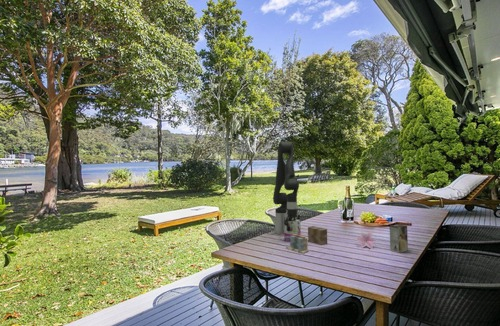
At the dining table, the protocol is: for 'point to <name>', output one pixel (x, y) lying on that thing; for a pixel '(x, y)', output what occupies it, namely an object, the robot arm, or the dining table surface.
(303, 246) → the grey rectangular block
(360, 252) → the dining table surface
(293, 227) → the candy bar box
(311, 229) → the walnut bookend
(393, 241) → the coffee box
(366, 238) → the lily
